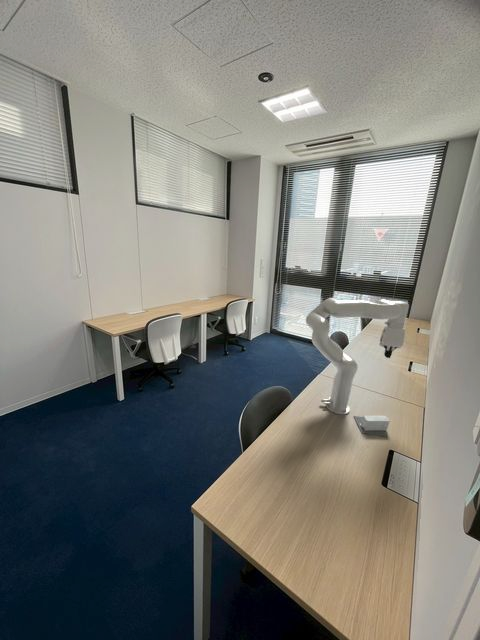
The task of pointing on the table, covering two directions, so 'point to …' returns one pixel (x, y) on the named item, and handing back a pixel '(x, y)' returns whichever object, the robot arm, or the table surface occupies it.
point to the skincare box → (375, 423)
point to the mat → (373, 432)
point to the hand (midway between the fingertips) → (387, 356)
